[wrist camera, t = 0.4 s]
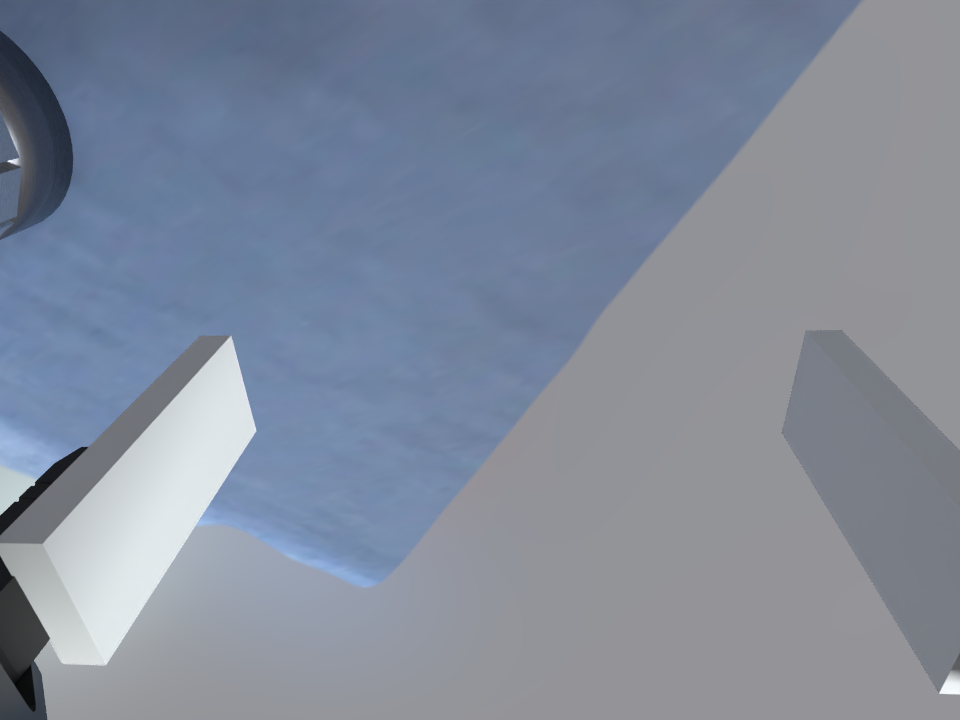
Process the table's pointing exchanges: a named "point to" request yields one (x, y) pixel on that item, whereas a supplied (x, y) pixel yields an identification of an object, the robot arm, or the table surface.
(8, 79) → the toothed ring drum
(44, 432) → the table surface
